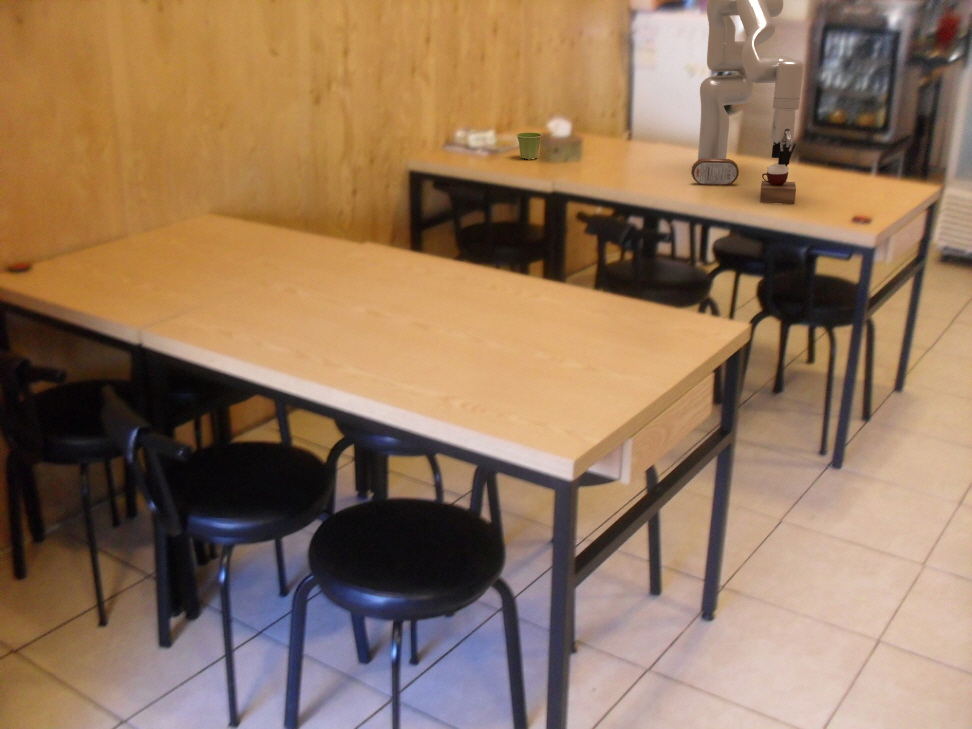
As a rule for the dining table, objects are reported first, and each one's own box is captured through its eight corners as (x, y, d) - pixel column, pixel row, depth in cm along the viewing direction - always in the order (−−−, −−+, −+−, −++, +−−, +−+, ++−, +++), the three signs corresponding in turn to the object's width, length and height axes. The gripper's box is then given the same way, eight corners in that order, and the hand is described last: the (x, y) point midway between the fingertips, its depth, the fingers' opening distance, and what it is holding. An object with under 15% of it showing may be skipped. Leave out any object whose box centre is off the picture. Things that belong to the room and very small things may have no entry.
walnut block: (760, 196, 323) (761, 180, 321) (793, 198, 321) (795, 182, 319) (760, 203, 314) (761, 187, 312) (794, 205, 312) (795, 189, 310)
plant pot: (545, 160, 374) (545, 136, 371) (520, 161, 372) (520, 137, 368) (537, 155, 382) (537, 131, 379) (512, 156, 380) (513, 133, 377)
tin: (737, 184, 338) (739, 158, 334) (738, 186, 335) (740, 160, 332) (690, 183, 339) (692, 157, 336) (691, 185, 336) (693, 159, 333)
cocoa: (761, 186, 316) (760, 147, 311) (766, 181, 321) (765, 142, 316) (792, 186, 311) (792, 147, 307) (797, 181, 316) (797, 142, 312)
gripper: (767, 99, 315) (762, 155, 321) (779, 108, 299) (773, 167, 305) (792, 99, 314) (786, 155, 321) (805, 108, 298) (799, 167, 305)
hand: (780, 161), depth 313 cm, fingers open, 9 cm apart
